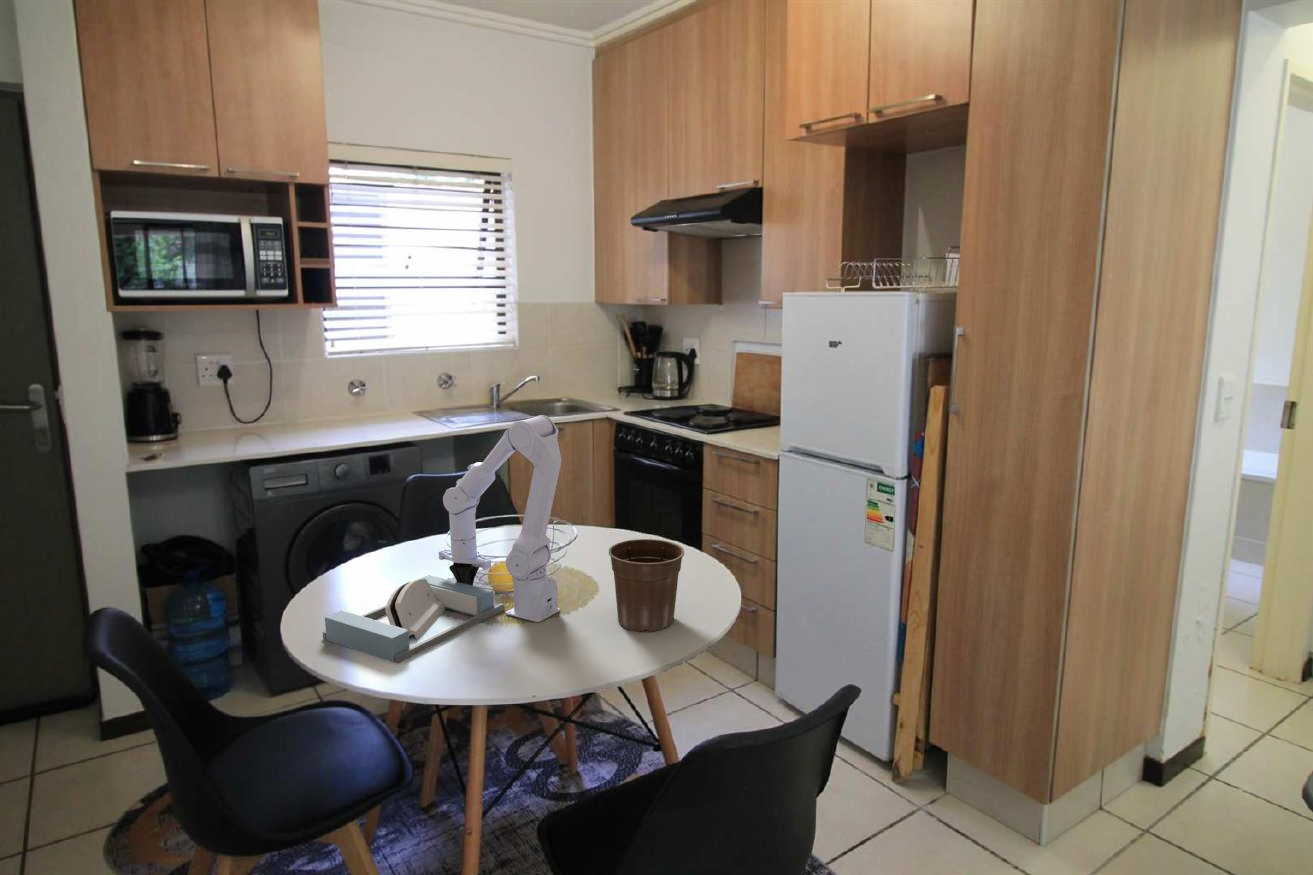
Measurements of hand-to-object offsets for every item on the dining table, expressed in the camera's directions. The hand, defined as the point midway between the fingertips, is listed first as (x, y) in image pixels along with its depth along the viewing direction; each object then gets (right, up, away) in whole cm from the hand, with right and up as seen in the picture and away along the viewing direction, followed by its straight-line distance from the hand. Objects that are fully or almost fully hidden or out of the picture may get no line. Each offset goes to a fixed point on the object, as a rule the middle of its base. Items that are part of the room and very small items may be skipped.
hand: (466, 593), depth 183 cm
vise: (-8, -4, -12) cm, 15 cm away
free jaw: (-2, -2, -3) cm, 4 cm away
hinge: (-8, -4, -12) cm, 15 cm away
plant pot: (+42, -4, -11) cm, 44 cm away
